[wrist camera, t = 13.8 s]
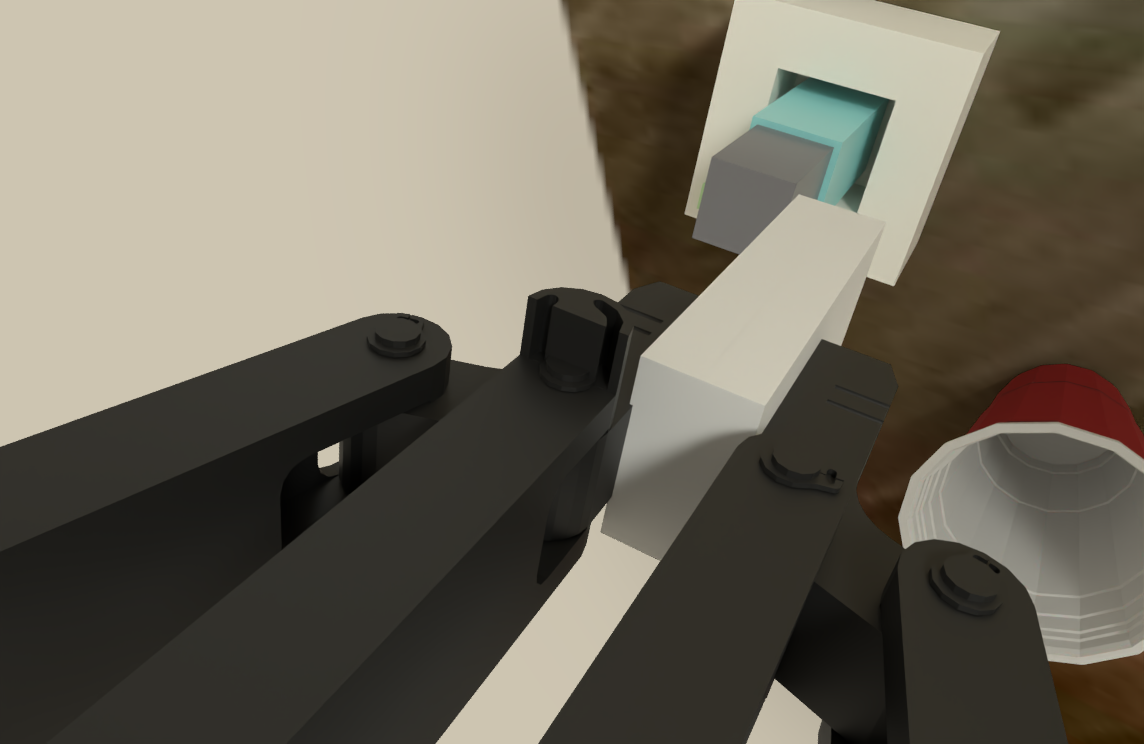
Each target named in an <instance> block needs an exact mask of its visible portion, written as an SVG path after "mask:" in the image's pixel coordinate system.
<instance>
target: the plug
mask: <svg viewBox="0 0 1144 744" xmlns="http://www.w3.org/2000/svg"><path fill="white" fill-rule="evenodd" d="M888 102H889V99H887V98H884V97H880V96H877V95H873V94H869V93H866V92H862V91H859V90H855V89H852V88H848V87H844V86H841V85H837V84H834V83H830V82H826V81H823V80H819V79H816V78H812V77H809V78H808V79H806V80H805V81H804V82H802V83H801V84H799V85H798V86H796V87H795V88H793V89H792V90H790V91H789V92H787V93H786V94H784V95H783V96H782V97H780V98H779V99H777V100H776V101H774V102H773V103H771V104H770V105H768V106H767V107H765V108H764V109H762V110H761V111H760V112H758V113H757V114H755V115H754V116H753V118H752V122H751V125H750V129H749V131H747V132H746V133H745V134H743V135H742V136H740V137H739V138H738V139H736V140H735V141H733V142H732V143H731V144H729V145H728V146H726V147H725V148H724V149H722V150H721V151H719V152H718V153H717V154H715V155H714V156H712V158H711V162H710V166H709V170H708V174H707V178H706V182H705V186H704V191H703V195H702V199H701V203H700V207H699V211H698V215H697V219H696V223H695V227H694V232H693V236H692V238H694V239H697V240H700V241H703V242H705V243H708V244H711V245H714V246H717V247H720V248H722V249H725V250H728V251H731V252H734V253H737V254H739V255H740V254H741V253H742V252H743V251H744V250H745V249H746V248H747V247H748V246H749V245H750V244H751V243H752V242H753V241H754V240H755V239H756V238H757V236H758V235H759V234H760V233H761V232H762V231H763V230H764V229H765V228H766V227H767V226H768V225H769V224H770V223H771V222H772V221H773V220H774V219H775V218H776V217H777V216H778V215H779V214H780V213H781V212H782V211H783V210H784V209H785V208H786V207H787V206H788V205H789V204H790V203H791V202H792V201H793V200H794V199H795V198H796V197H797V196H798V195H799V194H800V195H803V196H806V197H809V198H812V199H815V200H818V201H821V202H824V203H828V204H831V205H834V206H835V205H836V204H837V203H838V202H839V200H840V199H841V198H842V197H843V196H844V195H845V193H846V192H847V191H848V190H849V189H850V187H851V186H852V185H853V184H854V183H855V181H856V180H857V179H858V178H859V177H860V176H861V174H862V173H863V172H864V171H865V169H866V166H867V163H868V160H869V157H870V154H871V152H872V149H873V146H874V143H875V140H876V137H877V134H878V131H879V128H880V125H881V122H882V119H883V116H884V114H885V111H886V108H887V105H888Z"/></svg>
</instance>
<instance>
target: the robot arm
mask: <svg viewBox="0 0 1144 744" xmlns="http://www.w3.org/2000/svg"><path fill="white" fill-rule="evenodd" d="M885 225H886V222H883V221H880V220H877V219H874V218H871V217H868V216H865V215H862V214H859V213H855V212H852V211H849V210H846V209H843V208H840V207H837V206H834V205H831V204H828V203H824V202H821V201H818V200H815V199H812V198H809V197H806V196H803V195H800V194H799V195H798V196H797V197H796V198H795V199H794V200H793V201H792V202H791V203H790V204H789V205H788V206H787V207H786V208H785V209H784V210H783V211H782V212H781V213H780V214H779V215H778V216H777V217H776V218H775V219H774V220H773V221H772V222H771V223H770V224H769V225H768V226H767V227H766V228H765V229H764V230H763V231H762V232H761V233H760V234H759V235H758V236H757V238H756V239H755V240H754V241H753V242H752V243H751V244H750V245H749V246H748V247H747V248H746V249H745V250H744V251H743V252H742V253H741V254H740V255H739V256H738V257H737V258H736V259H735V260H734V261H733V262H732V263H731V264H730V265H729V266H728V267H727V268H726V269H725V270H724V271H723V272H722V273H721V274H720V275H719V276H718V277H717V278H716V279H715V280H714V281H713V282H712V283H711V284H710V285H709V286H708V287H707V289H706V290H705V291H704V292H703V293H702V294H701V295H700V296H698V295H695V294H692V293H690V292H687V291H684V290H682V289H679V288H676V287H674V286H671V285H668V284H666V283H663V282H656V283H653V284H649V285H646V286H642V287H639V288H635V289H633V290H632V291H631V292H630V293H628V294H627V295H626V296H625V297H624V298H623V299H622V300H621V301H619V302H615V301H613V300H612V299H610V298H608V297H606V296H604V295H602V294H598V293H594V292H591V291H587V290H584V289H574V288H563V287H560V288H553V289H545V290H541V291H539V292H536V293H534V294H532V295H529V296H528V302H527V309H526V316H525V323H524V330H523V337H522V344H521V351H520V355H519V356H518V357H517V358H515V359H514V360H513V361H512V362H510V363H509V364H508V365H507V366H506V367H504V368H503V369H497V368H490V367H484V366H479V365H474V364H469V363H464V362H459V361H455V360H451V351H452V345H451V341H450V337H449V335H448V334H447V333H446V332H445V331H444V330H443V329H442V328H441V327H440V326H439V325H437V324H435V323H433V322H431V321H428V320H426V319H424V318H422V317H418V316H414V315H410V314H404V313H397V314H377V315H373V316H368V317H363V318H360V319H358V320H355V321H352V322H349V323H346V324H344V325H341V326H338V327H335V328H333V329H330V330H327V331H325V332H321V333H318V334H316V335H313V336H310V337H307V338H305V339H302V340H299V341H296V342H293V343H290V344H288V345H285V346H282V347H279V348H276V349H274V350H271V351H268V352H265V353H263V354H260V355H257V356H254V357H251V358H248V359H246V360H243V361H240V362H237V363H234V364H231V365H229V366H226V367H223V368H220V369H217V370H215V371H212V372H209V373H206V374H204V375H201V376H198V377H195V378H192V379H190V380H187V381H184V382H181V383H179V384H175V385H173V386H170V387H167V388H164V389H161V390H159V391H156V392H153V393H150V394H148V395H145V396H142V397H139V398H136V399H133V400H131V401H128V402H125V403H122V404H119V405H117V406H114V407H111V408H108V409H105V410H103V411H100V412H97V413H94V414H91V415H89V416H86V417H83V418H80V419H77V420H75V421H72V422H69V423H66V424H63V425H61V426H58V427H55V428H52V429H50V430H47V431H44V432H41V433H38V434H35V435H33V436H30V437H27V438H24V439H21V440H19V441H16V442H13V443H10V444H7V445H5V446H2V447H0V744H435V743H436V742H437V741H438V740H439V738H440V737H441V736H442V735H443V733H444V732H445V731H446V729H447V728H448V727H449V726H450V724H451V723H452V722H453V720H454V719H455V718H456V717H457V715H458V714H459V713H460V711H461V710H462V709H463V708H464V706H465V705H466V704H467V702H468V701H469V700H470V699H471V697H472V696H473V695H474V693H475V692H476V691H477V689H478V688H479V687H480V686H481V684H482V683H483V682H484V681H485V679H486V678H487V677H488V675H489V674H490V673H491V672H492V670H493V669H494V668H495V666H496V665H497V664H498V662H499V661H500V660H501V659H502V657H503V656H504V655H505V654H506V652H507V651H508V650H509V648H510V647H511V646H512V645H513V643H514V642H515V640H516V639H517V638H518V636H519V635H520V634H521V633H522V631H523V630H524V629H525V628H526V626H527V625H528V624H529V622H530V621H531V620H532V619H533V617H534V616H535V615H536V614H537V612H538V611H539V610H540V608H541V607H542V606H543V604H544V603H545V602H546V601H547V599H548V598H549V597H550V596H551V594H552V593H553V591H554V590H555V589H556V587H558V585H559V584H560V583H561V581H562V580H563V579H564V577H565V576H566V575H567V574H568V572H569V571H570V570H571V569H572V567H573V566H574V564H575V563H576V562H577V561H578V559H579V558H580V557H581V555H582V553H583V551H584V548H585V546H586V543H587V539H588V534H589V529H590V525H591V522H592V521H593V519H594V518H595V517H596V515H597V514H598V513H599V512H600V511H601V509H602V508H603V507H604V506H605V504H606V503H607V506H606V510H605V515H604V519H603V523H602V528H601V533H603V534H605V535H608V536H610V537H612V538H614V539H616V540H618V541H620V542H623V543H624V544H626V545H629V546H631V547H633V548H635V549H637V550H639V551H641V552H643V553H645V554H647V555H649V556H651V557H653V558H655V559H658V560H660V563H659V564H658V566H657V567H656V569H655V570H654V572H653V573H652V575H651V576H650V578H649V579H648V580H647V582H646V584H645V585H644V587H643V588H642V589H641V591H640V592H639V594H638V595H637V597H636V599H635V600H634V602H633V603H632V604H631V606H630V607H629V609H628V610H627V612H626V613H625V615H624V616H623V618H622V620H621V621H620V622H619V624H618V625H617V627H616V628H615V630H614V631H613V633H612V634H611V636H610V637H609V639H608V640H607V642H606V643H605V645H604V646H603V648H602V650H601V651H600V652H599V654H598V655H597V657H596V658H595V660H594V661H593V663H592V664H591V666H590V667H589V669H588V670H587V672H586V673H585V675H584V676H583V678H582V679H581V681H580V682H579V684H578V685H577V687H576V688H575V690H574V691H573V693H572V694H571V696H570V697H569V699H568V700H567V702H566V703H565V705H564V706H563V708H562V709H561V711H560V712H559V713H558V715H557V717H556V718H555V720H554V721H553V723H552V724H551V725H550V727H549V728H548V730H547V732H546V733H545V735H544V736H543V737H542V739H541V740H540V742H539V744H746V743H747V740H748V738H749V735H750V733H751V731H752V729H753V726H754V724H755V722H756V719H757V717H758V715H759V712H760V710H761V708H762V706H763V703H764V701H765V699H766V698H767V695H768V693H769V691H770V688H771V686H772V683H773V681H774V679H776V680H777V681H778V682H779V683H781V684H782V685H783V686H784V687H785V688H786V689H787V690H789V691H790V692H791V693H792V694H793V695H794V696H796V697H797V698H798V699H799V700H800V701H801V702H803V703H804V704H805V705H806V706H807V707H808V708H809V709H811V710H812V711H813V712H814V713H815V714H816V715H817V716H819V717H820V718H821V719H822V722H821V726H820V729H819V733H818V744H1068V742H1067V738H1066V734H1065V730H1064V725H1063V721H1062V717H1061V713H1060V709H1059V704H1058V700H1057V696H1056V692H1055V688H1054V684H1053V679H1052V675H1051V671H1050V667H1049V663H1048V659H1047V654H1046V650H1045V646H1044V642H1043V638H1042V633H1041V629H1040V625H1039V621H1038V617H1037V613H1036V608H1035V606H1034V603H1033V601H1032V599H1031V597H1030V595H1029V593H1028V591H1027V589H1026V587H1025V586H1024V585H1023V584H1022V583H1021V582H1020V581H1019V580H1018V579H1017V578H1016V577H1015V575H1014V574H1013V573H1012V572H1011V571H1010V570H1009V569H1008V568H1006V567H1005V566H1003V565H1002V564H1000V563H999V562H997V561H996V560H994V559H993V558H991V557H990V556H988V555H987V554H985V553H984V552H981V551H978V550H976V549H973V548H971V547H968V546H966V545H963V544H961V543H958V542H951V541H945V540H938V539H931V540H925V541H919V542H914V543H913V544H912V545H910V546H909V547H908V548H906V549H905V548H903V547H902V546H900V545H899V544H898V543H896V542H895V541H893V540H892V539H891V538H889V537H888V536H887V535H886V534H884V533H883V532H882V531H881V530H879V529H878V528H877V527H876V526H875V525H874V523H873V522H872V521H871V520H870V519H869V518H868V517H867V516H866V514H865V512H864V511H863V509H862V507H861V505H860V503H859V501H858V496H857V492H856V488H857V484H858V481H859V479H860V477H861V474H862V472H863V470H864V467H865V465H866V462H867V460H868V458H869V455H870V453H871V450H872V448H873V446H874V443H875V441H876V439H877V436H878V434H879V431H880V429H881V427H882V424H883V422H884V419H885V417H886V415H887V412H888V410H889V407H890V405H891V403H892V400H893V398H894V395H895V393H896V391H897V388H898V384H897V382H896V379H895V376H894V373H893V370H892V367H891V364H888V363H885V362H882V361H880V360H877V359H874V358H872V357H869V356H866V355H864V354H861V353H858V352H856V351H853V350H850V349H847V348H845V347H842V346H841V345H842V342H843V339H844V337H845V334H846V331H847V328H848V326H849V323H850V320H851V317H852V315H853V312H854V309H855V307H856V304H857V301H858V298H859V296H860V293H861V290H862V287H863V285H864V282H865V279H866V277H867V274H868V271H869V268H870V266H871V263H872V260H873V257H874V255H875V252H876V249H877V246H878V244H879V241H880V238H881V236H882V233H883V230H884V227H885ZM338 442H339V462H337V463H334V464H332V465H330V466H326V467H322V468H319V467H318V452H319V451H321V450H323V449H325V448H327V447H329V446H332V445H334V444H336V443H338Z"/></svg>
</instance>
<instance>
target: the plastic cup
mask: <svg viewBox="0 0 1144 744" xmlns="http://www.w3.org/2000/svg"><path fill="white" fill-rule="evenodd" d="M898 520H899V526H900V532H901V538H902V544H903V548H905V549H906V548H908V547H909V546H910V545H912V544H913V543H914V542H919V541H925V540H931V539H938V540H945V541H951V542H958V543H961V544H963V545H966V546H968V547H971V548H973V549H976V550H978V551H981V552H984V553H985V554H987V555H988V556H990V557H991V558H993V559H994V560H996V561H997V562H999V563H1000V564H1002V565H1003V566H1005V567H1006V568H1008V569H1009V570H1010V571H1011V572H1012V573H1013V574H1014V575H1015V577H1016V578H1017V579H1018V580H1019V581H1020V582H1021V583H1022V584H1023V585H1024V586H1025V587H1026V589H1027V591H1028V593H1029V595H1030V597H1031V599H1032V601H1033V603H1034V606H1035V608H1036V613H1037V617H1038V621H1039V625H1040V629H1041V633H1042V638H1043V642H1044V646H1045V650H1046V654H1047V659H1048V661H1056V662H1064V663H1072V664H1081V665H1084V664H1090V663H1095V662H1100V661H1105V660H1110V659H1116V658H1121V657H1126V656H1131V655H1136V654H1139V653H1141V652H1142V651H1144V435H1143V433H1142V432H1141V430H1140V428H1139V427H1138V425H1137V424H1136V422H1135V420H1134V417H1133V415H1132V413H1131V410H1130V408H1129V407H1128V405H1127V403H1126V402H1125V400H1124V399H1123V397H1122V396H1121V394H1120V393H1119V391H1118V389H1117V388H1116V387H1114V386H1113V384H1111V383H1110V382H1109V381H1107V380H1106V379H1104V378H1103V377H1101V376H1100V375H1098V374H1097V373H1095V372H1094V371H1092V370H1089V369H1085V368H1081V367H1077V366H1073V365H1070V364H1055V365H1041V366H1038V367H1036V368H1034V369H1031V370H1029V371H1026V372H1024V373H1021V374H1019V375H1018V376H1017V377H1015V378H1014V379H1012V380H1011V381H1010V382H1009V383H1008V384H1007V385H1006V386H1005V387H1004V388H1003V389H1002V390H1001V391H1000V392H999V393H998V394H997V396H996V397H995V399H994V400H993V402H992V403H991V405H990V406H989V407H988V408H987V409H986V410H985V411H984V412H983V413H982V414H981V416H980V417H979V418H978V420H977V421H976V422H975V424H974V425H973V426H972V428H971V429H970V430H969V431H968V433H967V434H966V435H964V436H961V437H959V438H956V439H954V440H951V441H948V442H946V443H944V444H943V445H942V446H941V447H940V448H939V449H938V450H937V451H936V452H935V453H934V454H933V455H932V456H931V457H930V458H929V459H928V460H927V461H926V462H925V463H924V464H923V465H922V466H921V467H920V468H919V469H918V470H917V471H916V472H915V473H914V474H913V475H912V476H911V479H910V482H909V485H908V488H907V491H906V494H905V497H904V501H903V504H902V507H901V510H900V513H899V516H898Z"/></svg>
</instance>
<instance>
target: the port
mask: <svg viewBox="0 0 1144 744" xmlns="http://www.w3.org/2000/svg"><path fill="white" fill-rule="evenodd" d="M999 33H1000V31H997V30H993V29H989V28H985V27H981V26H977V25H973V24H969V23H965V22H961V21H956V20H952V19H948V18H944V17H940V16H936V15H932V14H928V13H924V12H920V11H916V10H912V9H908V8H904V7H899V6H895V5H891V4H887V3H883V2H879V1H875V0H735V1H734V6H733V10H732V14H731V18H730V23H729V27H728V31H727V35H726V40H725V44H724V48H723V52H722V57H721V61H720V65H719V69H718V74H717V78H716V82H715V86H714V91H713V95H712V99H711V103H710V108H709V112H708V116H707V120H706V125H705V129H704V133H703V137H702V142H701V146H700V150H699V154H698V159H697V163H696V167H695V172H694V176H693V180H692V184H691V189H690V193H689V197H688V201H687V206H686V210H685V215H688V216H691V217H694V218H697V215H698V211H699V207H700V203H701V199H702V195H703V191H704V186H705V182H706V178H707V174H708V170H709V166H710V162H711V158H712V156H714V155H715V154H717V153H718V152H719V151H721V150H722V149H724V148H725V147H726V146H728V145H729V144H731V143H732V142H733V141H735V140H736V139H738V138H739V137H740V136H742V135H743V134H745V133H746V132H747V131H749V129H750V125H751V122H752V118H753V116H754V115H755V114H757V113H758V112H760V111H761V110H762V109H764V108H765V107H767V106H768V105H770V104H771V103H773V102H774V101H776V100H777V99H779V98H780V97H782V96H783V95H784V94H786V93H787V92H789V91H790V90H792V89H793V88H795V87H796V86H798V85H799V84H801V83H802V82H804V81H805V80H806V79H808V78H809V77H812V78H816V79H819V80H823V81H826V82H830V83H834V84H837V85H841V86H844V87H848V88H852V89H855V90H859V91H862V92H866V93H869V94H873V95H877V96H880V97H884V98H887V99H889V102H888V105H887V108H886V111H885V114H884V116H883V119H882V122H881V125H880V128H879V131H878V134H877V137H876V140H875V143H874V146H873V149H872V152H871V154H870V157H869V160H868V163H867V166H866V169H865V171H864V172H863V173H862V174H861V176H860V177H859V178H858V179H857V180H856V181H855V183H854V184H853V185H852V186H851V187H850V189H849V190H848V191H847V192H846V193H845V195H844V196H843V197H842V198H841V199H840V200H839V202H838V203H837V204H836V205H835V206H837V207H840V208H843V209H846V210H849V211H852V212H855V213H859V214H862V215H865V216H868V217H871V218H874V219H877V220H880V221H883V222H886V225H885V227H884V230H883V233H882V236H881V238H880V241H879V244H878V246H877V249H876V252H875V255H874V257H873V260H872V263H871V266H870V268H869V271H868V274H867V277H868V278H871V279H874V280H877V281H880V282H883V283H886V284H889V285H892V286H894V285H895V283H896V281H897V280H898V278H899V276H900V274H901V272H902V270H903V269H904V267H905V265H906V263H907V261H908V259H909V257H910V256H911V254H912V252H913V250H914V248H915V246H916V245H917V243H918V240H919V238H920V235H921V233H922V230H923V228H924V225H925V222H926V220H927V217H928V215H929V212H930V210H931V207H932V205H933V202H934V199H935V197H936V194H937V192H938V189H939V187H940V184H941V182H942V179H943V176H944V174H945V171H946V169H947V166H948V164H949V161H950V159H951V156H952V153H953V151H954V148H955V146H956V143H957V141H958V138H959V136H960V133H961V130H962V128H963V125H964V123H965V120H966V118H967V115H968V113H969V110H970V107H971V105H972V102H973V100H974V97H975V95H976V92H977V90H978V87H979V85H980V82H981V79H982V77H983V74H984V72H985V69H986V67H987V64H988V62H989V59H990V56H991V54H992V51H993V49H994V46H995V44H996V41H997V39H998V36H999Z"/></svg>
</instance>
